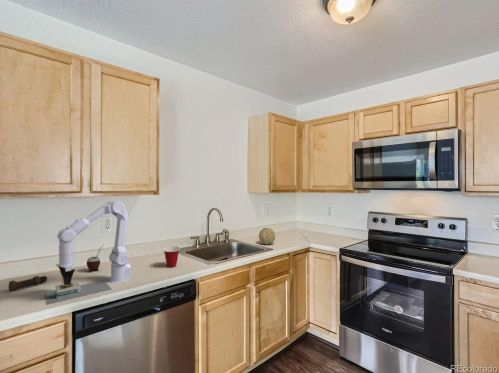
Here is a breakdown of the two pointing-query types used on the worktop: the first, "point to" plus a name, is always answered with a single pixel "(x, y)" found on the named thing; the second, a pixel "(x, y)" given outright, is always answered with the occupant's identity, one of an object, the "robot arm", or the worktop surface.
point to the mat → (85, 290)
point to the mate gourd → (93, 263)
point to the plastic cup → (171, 255)
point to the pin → (64, 284)
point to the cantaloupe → (267, 236)
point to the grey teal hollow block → (66, 290)
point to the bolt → (26, 283)
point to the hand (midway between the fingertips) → (66, 282)
